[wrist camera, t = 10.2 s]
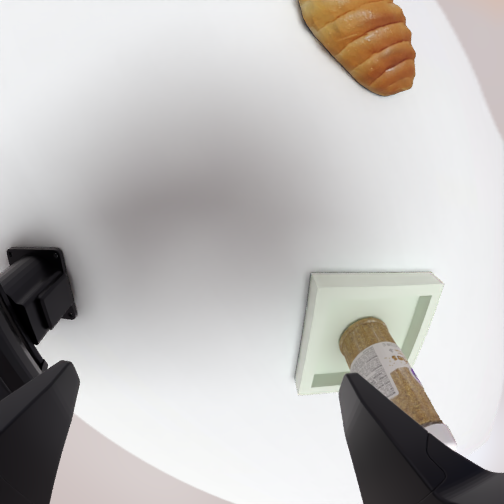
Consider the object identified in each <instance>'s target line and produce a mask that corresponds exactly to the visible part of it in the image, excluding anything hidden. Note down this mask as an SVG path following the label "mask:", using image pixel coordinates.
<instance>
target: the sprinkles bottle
mask: <svg viewBox="0 0 504 504" xmlns="http://www.w3.org/2000/svg"><path fill="white" fill-rule="evenodd" d="M339 348H340V351H341V353H342V355H343V356H344V357H345V359H346V362H347V364H348V367H349V369H350V373H354V372H356V373H359V374H360V375H361V376H362V377H363V378H365V379H366V380H367V381H368V382H369V383H370V384H372V385H373V386H374V387H375V388H376V389H378V390H379V391H380V392H381V393H382V394H384V395H385V396H386V397H387V398H388V399H390V400H391V401H392V402H393V403H394V404H396V405H397V406H398V407H399V408H400V409H402V410H403V411H404V412H405V413H406V414H408V415H409V416H410V417H411V418H412V419H414V420H415V421H416V422H417V423H419V424H420V425H421V426H422V427H423V428H425V429H426V430H427V431H428V433H431V434H432V435H433V436H435V437H436V438H437V439H439V440H440V441H441V442H442V443H444V444H445V445H446V446H448V447H449V448H451V449H452V450H454V451H456V448H457V443H456V441H455V439H454V437H453V435H452V433H451V431H450V429H449V428H448V426H447V425H446V424H444V423H443V422H442V420H440V418H439V416H438V414H437V413H436V411H435V409H434V407H433V405H432V404H431V402H430V400H429V398H428V397H427V395H426V393H425V391H424V388H423V386H422V384H421V383H420V381H419V379H418V378H417V376H416V374H415V373H414V371H413V369H412V368H411V366H410V364H409V363H408V361H407V359H406V357H405V356H404V354H403V352H402V351H401V349H400V348H399V347H398V345H397V344H396V343H395V341H394V339H393V338H392V336H391V335H390V333H389V331H388V328H387V326H386V325H385V323H384V322H383V321H381V320H380V319H376V318H365V319H361V320H359V321H357V322H355V323H353V324H352V325H350V326H349V327H348V328H347V330H346V331H345V332H344V333H343V334H342V336H341V338H340V341H339Z"/></svg>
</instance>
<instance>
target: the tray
mask: <svg viewBox="0 0 504 504" xmlns="http://www.w3.org/2000/svg"><path fill="white" fill-rule="evenodd" d="M443 287H444V283H443V282H442V281H441V280H440V279H438V278H437V277H436V276H435V275H434V274H433V273H432V272H394V273H311V277H310V284H309V292H308V299H307V306H306V313H305V319H304V326H303V332H302V338H301V344H300V350H299V356H298V362H297V368H296V373H295V383H296V388H297V392H298V396H299V395H313V394H325V393H335V392H339V389H340V386H341V383H342V380H343V377H344V375H345V374H346V373H350V369H349V367H348V364H347V362H346V359H345V357H344V356H343V355H342V353H341V351H340V348H339V341H340V338H341V336H342V334H343V333H344V332H345V331H346V330H347V328H348V327H349V326H350V325H352V324H353V323H355V322H357V321H359V320H361V319H365V318H376V319H380V320H381V321H383V322H384V323H385V325H386V326H387V328H388V331H389V333H390V335H391V336H392V338H393V339H394V341H395V343H396V344H397V345H398V347H399V348H400V349H401V351H402V352H403V354H404V356H405V357H406V359H407V361H408V363H409V364H410V366H411V368H412V367H413V365H414V363H415V361H416V358H417V356H418V354H419V352H420V349H421V347H422V344H423V342H424V340H425V337H426V335H427V332H428V329H429V327H430V324H431V322H432V319H433V316H434V313H435V311H436V308H437V305H438V302H439V299H440V296H441V293H442V290H443Z"/></svg>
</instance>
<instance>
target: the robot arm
mask: <svg viewBox="0 0 504 504" xmlns="http://www.w3.org/2000/svg"><path fill="white" fill-rule="evenodd" d="M55 253H56V254H57V255H58V257H57V256H56V254H55ZM7 256H8V260H9V264H10V266H9V267H8V268H7V269H6V270H4V271H3V272H2V273H1V274H0V504H49V503H50V499H51V494H52V490H53V485H54V481H55V477H56V473H57V469H58V465H59V461H60V458H61V454H62V451H63V447H64V444H65V440H66V437H67V433H68V431H69V427H70V424H71V421H72V417H73V412H74V407H75V403H76V398H77V394H78V389H79V385H80V380H79V377H78V374H77V372H76V370H75V367H74V365H73V364H72V362H69V361H64V360H61V361H59V362H58V363H56V364H55V365H53V366H52V367H50V368H49V369H47V368H48V364H47V362H46V361H45V360H44V359H43V358H42V357H41V355H40V354H39V352H38V351H37V349H36V347H35V346H34V344H35V345H38V344H39V343H40V341H41V340H42V339H43V337H44V336H45V335H46V333H47V332H48V331H49V330H52V329H53V328H54V327H55V325H56V324H57V323H58V321H59V320H60V319H61V318H63V319H71V320H73V319H75V317H76V316H77V312H76V308H75V305H74V300H73V296H72V292H71V288H70V284H69V280H68V276H67V273H66V268H65V264H64V259H63V254H62V251H61V250H60V249H59V248H25V247H11V248H9V249H8V250H7ZM71 313H72V314H71ZM339 401H340V407H341V413H342V420H343V426H344V432H345V437H346V441H347V444H348V448H349V451H350V455H351V459H352V462H353V466H354V470H355V473H356V477H357V481H358V485H359V488H360V492H361V496H362V500H363V504H504V473H495V472H490V471H488V470H485V469H483V468H481V467H480V466H478V465H476V464H475V463H473V462H471V461H470V460H468V459H466V458H465V457H463V456H462V455H460V454H458V453H457V452H455V451H454V450H452V449H451V448H449V447H448V446H446V445H445V444H444V443H442V442H441V441H440V440H439V439H437V438H436V437H435V436H433V435H432V434H431V433H428V431H427V430H426V429H425V428H423V427H422V426H421V425H420V424H419V423H417V422H416V421H415V420H414V419H412V418H411V417H410V416H409V415H408V414H406V413H405V412H404V411H403V410H402V409H400V408H399V407H398V406H397V405H396V404H394V403H393V402H392V401H391V400H390V399H388V398H387V397H386V396H385V395H384V394H382V393H381V392H380V391H379V390H378V389H376V388H375V387H374V386H373V385H372V384H370V383H369V382H368V381H367V380H366V379H365V378H363V377H362V376H361V375H360V374H359V373H356V372H354V373H346V374H345V375H344V377H343V380H342V383H341V386H340V389H339Z"/></svg>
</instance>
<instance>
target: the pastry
mask: <svg viewBox="0 0 504 504" xmlns="http://www.w3.org/2000/svg"><path fill="white" fill-rule="evenodd" d="M299 4H300V7H301V11H302V15H303V19H304V20H305V22H306V24H307V26H308V27H309V29H310V30H311V31H312V33H313V35H314V36H315V37H316V38H317V39H318V40H319V41H320V42H321V43H322V44H323V46H324V47H325V48H326V49H327V50H328V51H329V52H330V54H331V55H332V56H333V57H334V58H335V59H336V60H337V61H338V62H339V63H340V64H341V65H342V66H343V67H344V68H345V69H346V70H347V71H348V72H349V73H350V74H351V75H352V76H353V77H354V78H355V80H356V81H357V82H358V83H359V84H361V85H362V86H364V87H366V88H367V89H369V90H370V91H371V92H373V93H376V94H378V95H381V96H389V95H393V94H396V93H398V92H401V91H405V90H408V89H410V88H411V87H412V85H413V79H414V77H415V64H414V59H415V57H416V53H415V51H414V49H413V47H412V45H411V31H410V30H409V29H408V28H407V26H406V24H405V23H406V19H405V16H404V14H403V11H402V9H401V8H400V7H399V6H397V5H396V4H394V3H393V0H299Z"/></svg>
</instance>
